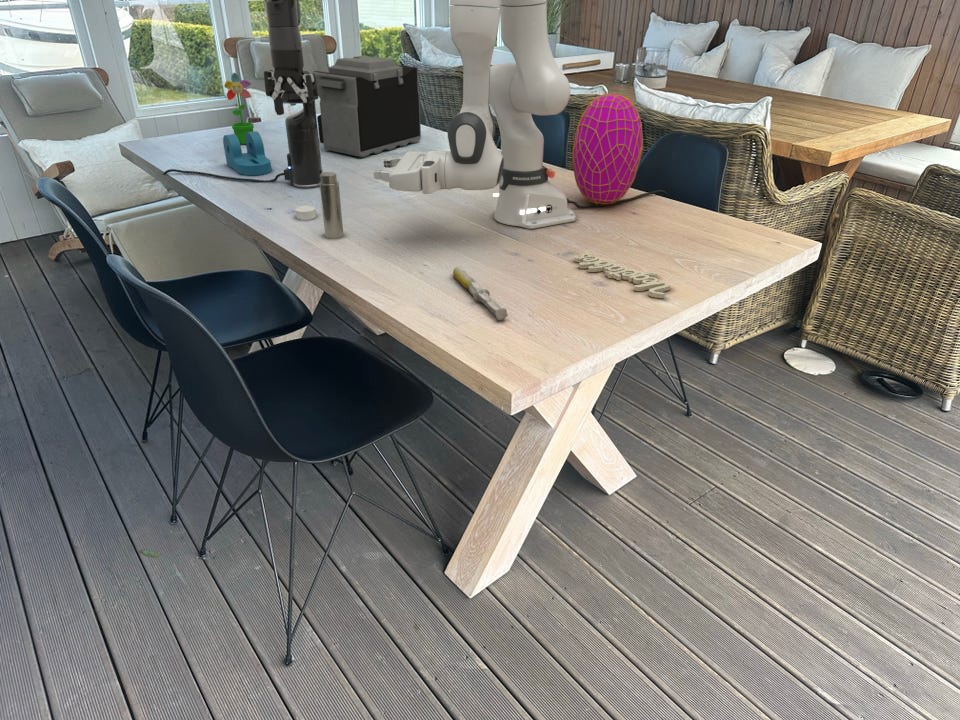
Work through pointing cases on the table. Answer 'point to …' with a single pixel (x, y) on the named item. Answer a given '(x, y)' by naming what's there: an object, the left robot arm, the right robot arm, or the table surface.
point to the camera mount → (246, 154)
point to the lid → (305, 212)
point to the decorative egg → (607, 148)
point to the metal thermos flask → (331, 205)
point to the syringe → (479, 293)
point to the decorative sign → (625, 274)
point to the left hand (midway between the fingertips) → (294, 116)
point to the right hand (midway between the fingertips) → (379, 168)
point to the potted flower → (237, 88)
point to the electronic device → (368, 105)
